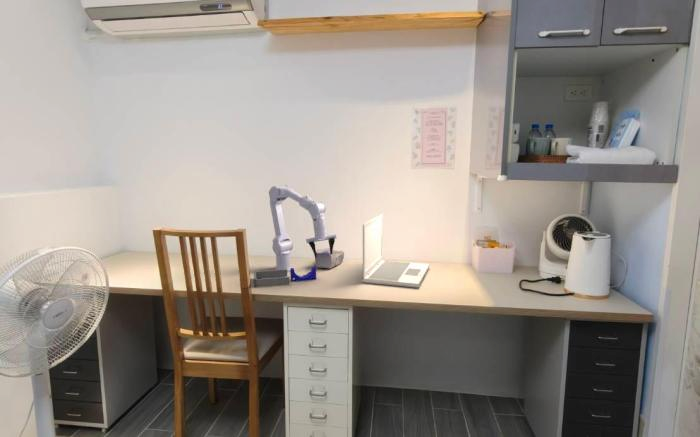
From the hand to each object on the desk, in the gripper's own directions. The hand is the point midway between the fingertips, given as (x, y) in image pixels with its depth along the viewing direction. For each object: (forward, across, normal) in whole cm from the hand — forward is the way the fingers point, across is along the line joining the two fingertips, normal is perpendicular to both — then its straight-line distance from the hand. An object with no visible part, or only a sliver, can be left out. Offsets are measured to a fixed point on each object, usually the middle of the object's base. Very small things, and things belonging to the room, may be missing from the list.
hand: (323, 255), depth 193 cm
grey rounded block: (+10, +6, +24) cm, 27 cm away
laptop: (+16, +35, -3) cm, 39 cm away
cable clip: (+10, -11, +2) cm, 16 cm away
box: (+8, -26, +2) cm, 28 cm away
